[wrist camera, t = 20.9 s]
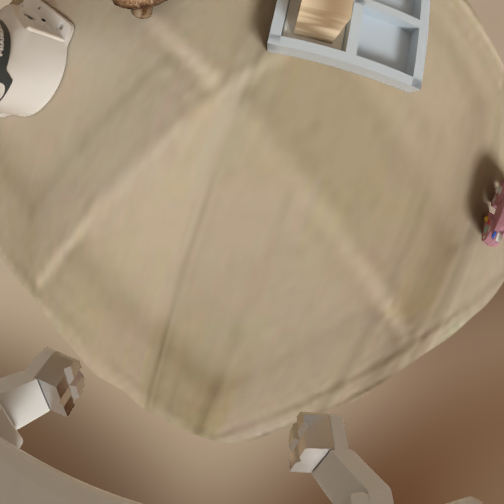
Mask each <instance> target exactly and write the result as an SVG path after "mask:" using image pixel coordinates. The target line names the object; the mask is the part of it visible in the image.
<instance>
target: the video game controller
mask: <svg viewBox="0 0 504 504" xmlns="http://www.w3.org/2000/svg"><path fill="white" fill-rule="evenodd" d="M491 206H492V207H494V208H495V209H496V211H495V214H494V215H493V214H492V213H490V212H488V214H487V215H486V216H485V217H484V229H483V233H482V241H484V242H485V243H486V244H487V245H488V246H492V247H496V246H498V244H499V243H500V241H501V239H502V237H503V235H504V181H503V182H502V183H501V185H500V186H499V185H498V186H497V187H496V193H495V194H494V196H493V198H492V201H491Z"/></svg>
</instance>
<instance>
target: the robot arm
mask: <svg viewBox="0 0 504 504" xmlns="http://www.w3.org/2000/svg"><path fill="white" fill-rule="evenodd" d="M62 27H63V28H62ZM73 32H74V25H73V24H72V23H71V22H70V21H69V20H67V19H66V18H65V17H63V16H62V15H61V14H59V13H58V12H57V11H55V10H54V9H53V8H51V7H50V6H49V5H47V4H46V3H45V2H43V1H42V0H24V1H23V2H22V3H21V4H19V5H15V4H9V5H7V6H5V7H3V8H2V9H1V10H0V117H7V116H9V115H17V116H23V117H24V116H30V115H32V114H34V113H36V112H38V111H39V110H40V109H41V108H43V107H44V106H45V105H46V104H47V102H48V101H49V100H50V99H51V97H52V96H53V94H54V93H55V91H56V89H57V87H58V85H59V83H60V81H61V78H62V76H63V73H64V69H65V65H66V58H67V48H68V44H69V42H70V39H71V37H72V35H73ZM80 369H81V364H80V361H78V360H76V359H74V358H71V357H69V356H66V355H64V354H62V353H60V352H58V351H55V350H53V349H51V348H48V347H46V348H44V349H43V350H42V351H41V352H40V353H39V354H38V356H37V357H36V358H35V359H34V361H33V362H32V363H31V364H30V365H29V367H28V368H27V369H26V370H25V372H23V371H20V372H17V373H15V374H12V375H9V376H6V377H3V378H0V504H142V503H139V502H136V501H133V500H129V499H126V498H123V497H120V496H118V495H115V494H112V493H109V492H107V491H104V490H101V489H99V488H97V487H94V486H92V485H89V484H87V483H84V482H82V481H80V480H78V479H75V478H73V477H71V476H69V475H67V474H65V473H63V472H60V471H59V470H57V469H55V468H53V467H51V466H49V465H47V464H45V463H43V462H41V461H40V460H38V459H36V458H34V457H32V456H31V455H29V454H27V453H25V452H24V451H22V450H20V447H21V445H22V443H23V439H22V438H21V436H20V435H19V433H18V431H17V429H19V428H21V427H22V426H24V425H26V424H28V423H29V422H31V421H33V420H35V419H36V418H38V417H40V416H42V415H43V414H45V413H47V412H48V411H50V410H52V411H55V412H57V413H59V414H61V415H64V416H66V417H68V416H69V414H70V412H71V411H72V409H73V407H74V405H75V404H74V399H77V398H79V397H80V395H81V394H82V392H83V388H84V376H83V374H82V373H81V372H80V371H79V370H80ZM289 448H290V449H291V450H292V453H291V455H290V456H289V468H290V471H293V472H308V473H312V475H313V477H314V478H315V479H316V481H317V482H318V484H319V485H320V486H321V488H322V489H323V491H324V492H325V494H326V495H327V496H328V498H329V499H330V501H331V502H332V503H333V504H394V502H393V498H392V493H391V489H390V487H389V486H388V485H386V484H385V482H384V481H383V480H382V479H381V478H379V477H378V475H377V474H376V473H375V472H374V471H373V470H372V469H371V468H370V467H369V466H367V464H365V462H364V461H363V460H362V459H361V458H360V457H359V456H358V455H357V454H356V453H355V452H354V451H353V450H349V448H348V442H347V438H346V432H345V427H344V422H343V417H342V416H341V415H340V414H326V413H311V412H300V413H299V415H298V416H297V423H295V424H293V426H292V428H291V431H290V435H289ZM447 504H483V503H482V502H481V501H479V500H478V499H476V498H474V497H465V498H462V499H459V500H457V501H454V502H450V503H447Z"/></svg>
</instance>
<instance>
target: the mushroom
mask: <svg viewBox="0 0 504 504" xmlns="http://www.w3.org/2000/svg"><path fill="white" fill-rule="evenodd" d="M165 1H167V0H113V2H114V4H115V5H117V6H119V7H122V8H127V9H132V14H133V15H134V16H136V17H137V18H142V19H144V18H149V17H151V15H152V9H153V6H156V5H159V4H161V3H163V2H165Z"/></svg>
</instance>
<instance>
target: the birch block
mask: <svg viewBox="0 0 504 504" xmlns="http://www.w3.org/2000/svg"><path fill="white" fill-rule="evenodd" d="M353 2H354V0H301V1H300V5H299V10H298V15H297V20H296V24H295V29H294V34H293V35H297V36H302V37H306V38H310V39H314V40H318V41H322V42H326V43H330V44H332V42H333V41H334V40H335V38H336V37H337V36H338V34H339V33H340V32H341V30H342V29H343V28H344V27H345V25H346V24H347V23H348V21H349V20H350V19H351V14H352V8H353Z"/></svg>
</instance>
